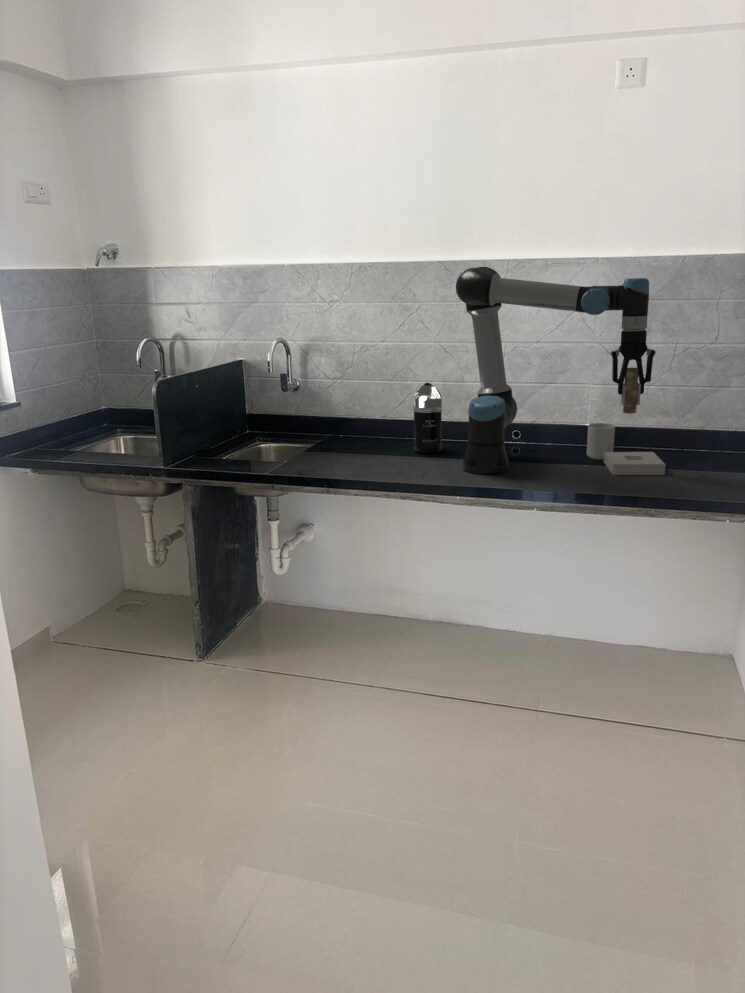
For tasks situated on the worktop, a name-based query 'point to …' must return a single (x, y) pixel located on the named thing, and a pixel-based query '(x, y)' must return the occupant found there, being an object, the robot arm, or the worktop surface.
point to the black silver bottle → (427, 419)
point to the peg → (631, 390)
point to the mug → (600, 440)
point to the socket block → (634, 463)
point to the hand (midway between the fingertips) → (630, 404)
